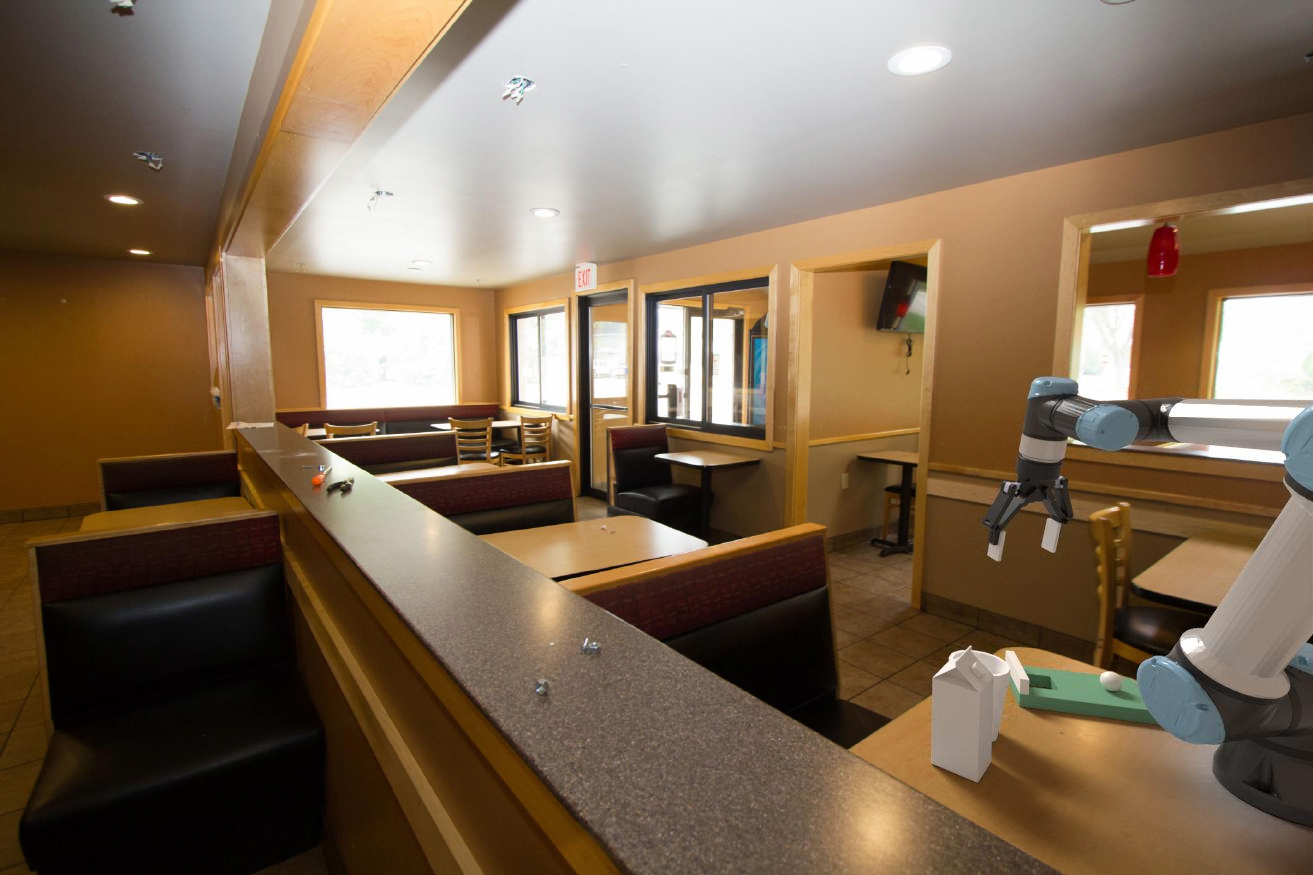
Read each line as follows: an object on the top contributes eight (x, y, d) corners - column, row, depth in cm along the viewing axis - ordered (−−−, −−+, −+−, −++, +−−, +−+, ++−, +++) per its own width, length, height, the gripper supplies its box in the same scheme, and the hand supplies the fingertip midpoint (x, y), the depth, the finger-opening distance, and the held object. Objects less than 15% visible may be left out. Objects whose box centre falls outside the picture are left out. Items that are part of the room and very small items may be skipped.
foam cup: (946, 739, 104) (948, 668, 102) (948, 712, 112) (949, 646, 110) (1009, 754, 99) (1012, 680, 98) (1006, 724, 107) (1008, 656, 106)
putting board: (1160, 724, 106) (1162, 695, 105) (1019, 706, 113) (1020, 678, 112) (1131, 690, 117) (1132, 663, 116) (1004, 675, 124) (1005, 650, 124)
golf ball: (1125, 696, 111) (1126, 678, 110) (1103, 693, 112) (1104, 675, 111) (1118, 686, 114) (1119, 669, 114) (1096, 684, 115) (1097, 666, 115)
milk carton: (930, 764, 97) (932, 654, 95) (946, 744, 102) (948, 639, 100) (977, 784, 92) (980, 668, 90) (991, 762, 97) (994, 652, 95)
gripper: (1074, 445, 122) (1054, 538, 128) (972, 456, 116) (956, 553, 123) (1109, 456, 115) (1086, 554, 121) (1002, 469, 109) (984, 571, 116)
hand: (1021, 554), depth 122 cm, fingers open, 13 cm apart
